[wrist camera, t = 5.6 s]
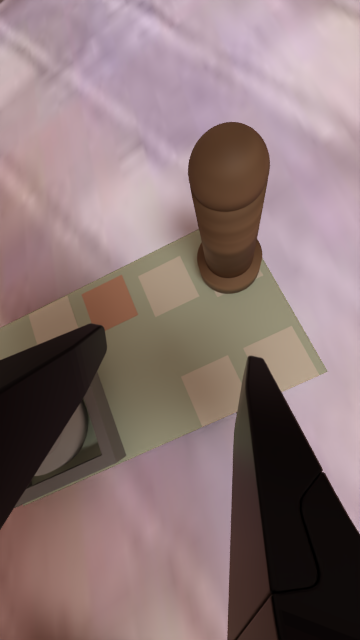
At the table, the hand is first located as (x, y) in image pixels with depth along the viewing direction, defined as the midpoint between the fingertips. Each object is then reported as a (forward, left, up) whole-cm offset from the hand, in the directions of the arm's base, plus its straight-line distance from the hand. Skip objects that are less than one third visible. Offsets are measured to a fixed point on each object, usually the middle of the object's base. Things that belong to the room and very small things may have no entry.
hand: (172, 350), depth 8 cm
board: (+3, +5, -14) cm, 15 cm away
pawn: (+6, -5, -13) cm, 15 cm away
